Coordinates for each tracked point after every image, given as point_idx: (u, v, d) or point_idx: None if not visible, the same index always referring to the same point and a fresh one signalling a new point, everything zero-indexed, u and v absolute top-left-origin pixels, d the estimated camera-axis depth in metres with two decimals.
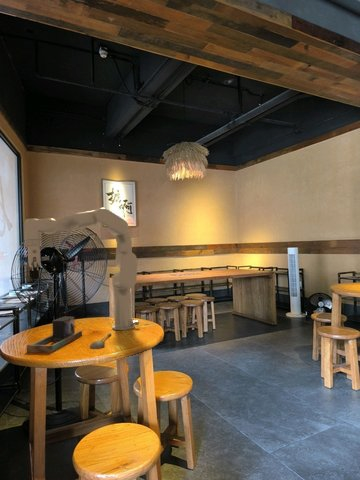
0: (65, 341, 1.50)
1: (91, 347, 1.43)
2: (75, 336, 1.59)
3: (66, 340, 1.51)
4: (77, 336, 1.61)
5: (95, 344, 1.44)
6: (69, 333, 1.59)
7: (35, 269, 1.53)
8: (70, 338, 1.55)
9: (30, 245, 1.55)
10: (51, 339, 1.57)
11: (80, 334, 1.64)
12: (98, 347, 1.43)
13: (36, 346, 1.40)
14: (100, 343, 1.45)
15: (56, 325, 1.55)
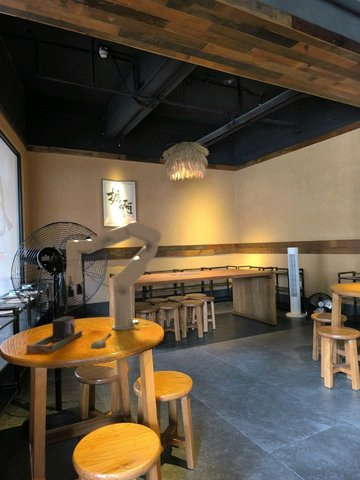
0: (65, 341, 1.50)
1: (92, 347, 1.43)
2: (75, 336, 1.59)
3: (66, 340, 1.51)
4: (77, 336, 1.61)
5: (96, 344, 1.44)
6: (69, 333, 1.59)
7: None
8: (70, 338, 1.55)
9: None
10: (51, 339, 1.57)
11: (80, 334, 1.64)
12: (99, 347, 1.43)
13: (36, 346, 1.40)
14: (101, 343, 1.45)
15: (56, 325, 1.55)
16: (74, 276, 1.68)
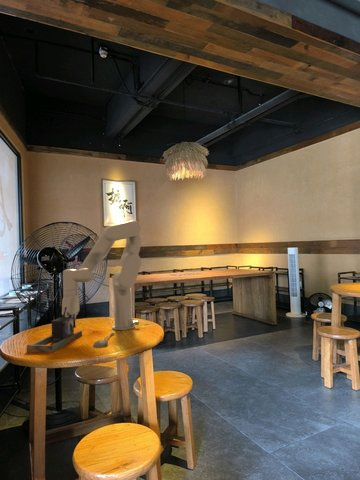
0: (65, 341, 1.50)
1: (94, 346, 1.44)
2: (75, 336, 1.59)
3: (66, 340, 1.51)
4: (77, 336, 1.61)
5: (98, 343, 1.45)
6: (68, 333, 1.58)
7: None
8: (70, 338, 1.55)
9: None
10: (51, 339, 1.57)
11: (80, 334, 1.64)
12: (101, 346, 1.44)
13: (36, 346, 1.40)
14: (103, 342, 1.46)
15: (56, 325, 1.54)
16: (70, 307, 1.64)
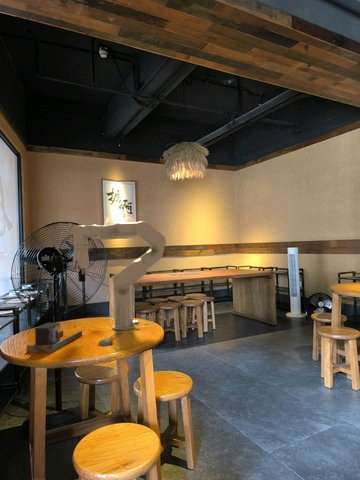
0: (65, 341, 1.50)
1: (99, 344, 1.47)
2: (75, 336, 1.59)
3: (66, 340, 1.51)
4: (77, 336, 1.61)
5: (103, 342, 1.48)
6: (53, 341, 1.45)
7: None
8: (70, 338, 1.55)
9: None
10: None
11: (80, 334, 1.64)
12: (106, 345, 1.46)
13: (36, 346, 1.40)
14: (108, 341, 1.48)
15: (39, 332, 1.42)
16: (81, 260, 1.72)
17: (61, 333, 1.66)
